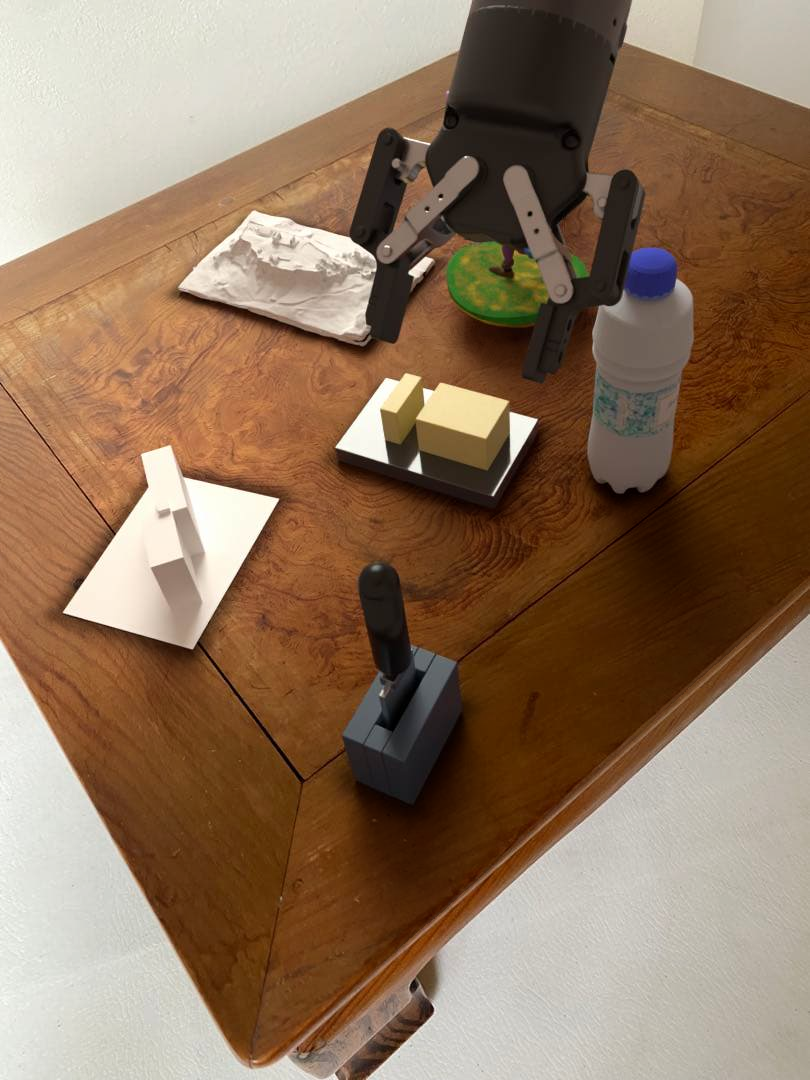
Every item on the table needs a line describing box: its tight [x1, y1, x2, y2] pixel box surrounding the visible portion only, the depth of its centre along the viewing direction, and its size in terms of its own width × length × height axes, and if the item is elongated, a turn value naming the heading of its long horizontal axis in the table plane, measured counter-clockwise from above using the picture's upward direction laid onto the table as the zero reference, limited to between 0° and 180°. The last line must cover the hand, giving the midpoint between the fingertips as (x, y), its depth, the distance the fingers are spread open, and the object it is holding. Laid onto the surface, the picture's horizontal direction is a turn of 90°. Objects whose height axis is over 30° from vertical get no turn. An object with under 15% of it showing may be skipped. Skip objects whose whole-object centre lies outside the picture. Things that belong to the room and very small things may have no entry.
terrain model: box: [177, 209, 436, 347], centre depth 96 cm, size 17×23×5 cm
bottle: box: [587, 247, 695, 495], centre depth 70 cm, size 7×7×20 cm
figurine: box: [445, 241, 590, 328], centre depth 86 cm, size 14×13×15 cm
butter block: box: [415, 382, 511, 470], centre depth 78 cm, size 6×4×4 cm
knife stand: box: [341, 643, 463, 805], centre depth 62 cm, size 4×7×6 cm, turn 153°
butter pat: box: [380, 372, 425, 445], centre depth 80 cm, size 2×4×4 cm, turn 153°
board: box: [334, 377, 539, 510], centre depth 81 cm, size 14×9×2 cm, turn 63°
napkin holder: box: [62, 444, 280, 650], centre depth 74 cm, size 15×11×6 cm
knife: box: [356, 561, 418, 732], centre depth 57 cm, size 2×4×19 cm, turn 153°
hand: (455, 360), depth 51 cm, fingers open, 8 cm apart
